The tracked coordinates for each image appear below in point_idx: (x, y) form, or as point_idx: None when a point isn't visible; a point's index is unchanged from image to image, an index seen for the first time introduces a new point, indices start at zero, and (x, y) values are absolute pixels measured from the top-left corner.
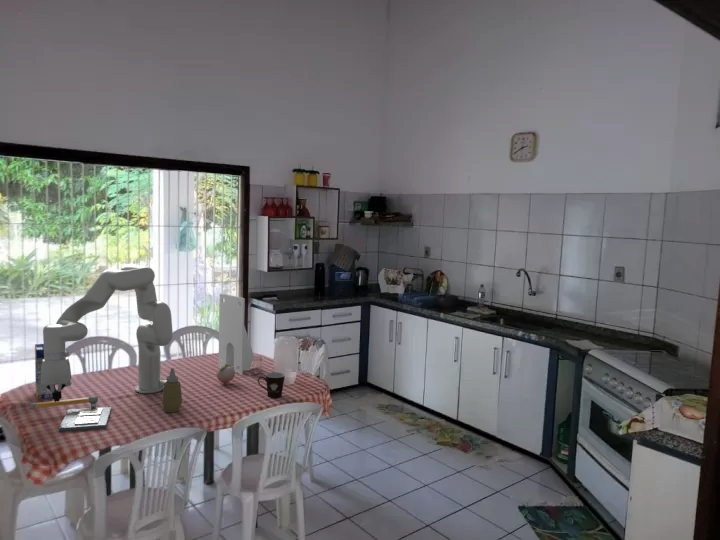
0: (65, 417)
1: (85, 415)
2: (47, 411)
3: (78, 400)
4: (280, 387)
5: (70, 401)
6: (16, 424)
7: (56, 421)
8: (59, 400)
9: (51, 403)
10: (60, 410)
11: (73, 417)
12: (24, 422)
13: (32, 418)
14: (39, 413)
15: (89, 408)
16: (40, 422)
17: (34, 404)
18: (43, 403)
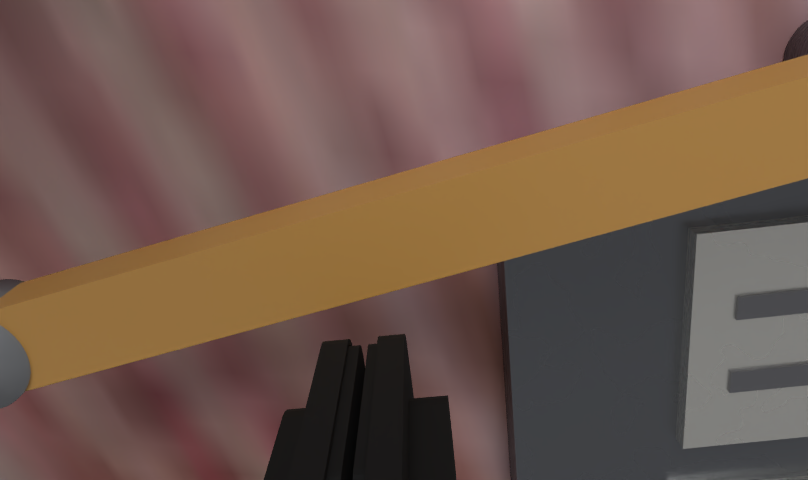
0: (528, 453)
1: (761, 433)
2: (174, 63)
3: (709, 197)
4: None
5: (569, 236)
6: (29, 466)
7: None
8: (364, 217)
9: (266, 318)
10: (348, 34)
11: (622, 461)
12: (82, 422)
13: None
14: (100, 140)
15: None
16: (258, 434)
17: (15, 396)
18: (141, 355)
